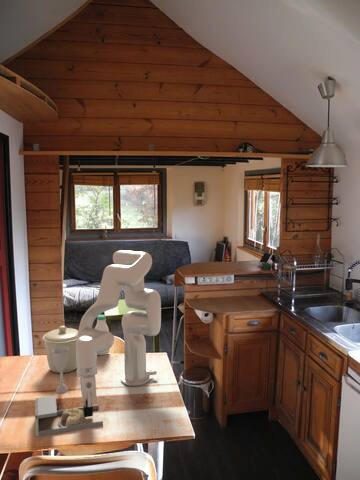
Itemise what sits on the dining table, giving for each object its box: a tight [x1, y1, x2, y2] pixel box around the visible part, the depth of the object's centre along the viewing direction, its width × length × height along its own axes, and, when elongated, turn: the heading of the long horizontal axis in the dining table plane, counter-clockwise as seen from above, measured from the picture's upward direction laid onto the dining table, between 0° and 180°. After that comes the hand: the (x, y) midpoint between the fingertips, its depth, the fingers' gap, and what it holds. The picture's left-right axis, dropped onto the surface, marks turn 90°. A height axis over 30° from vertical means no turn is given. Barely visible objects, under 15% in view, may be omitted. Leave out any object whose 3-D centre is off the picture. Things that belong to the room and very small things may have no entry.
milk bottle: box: [94, 314, 111, 356], centre depth 225 cm, size 8×8×20 cm
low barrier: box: [34, 395, 104, 437], centre depth 161 cm, size 23×13×8 cm, turn 108°
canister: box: [42, 325, 79, 374], centre depth 206 cm, size 18×18×21 cm
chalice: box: [52, 347, 69, 394], centre depth 184 cm, size 7×7×18 cm
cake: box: [58, 407, 87, 427], centre depth 161 cm, size 10×10×5 cm
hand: (88, 415), depth 164 cm, fingers closed
